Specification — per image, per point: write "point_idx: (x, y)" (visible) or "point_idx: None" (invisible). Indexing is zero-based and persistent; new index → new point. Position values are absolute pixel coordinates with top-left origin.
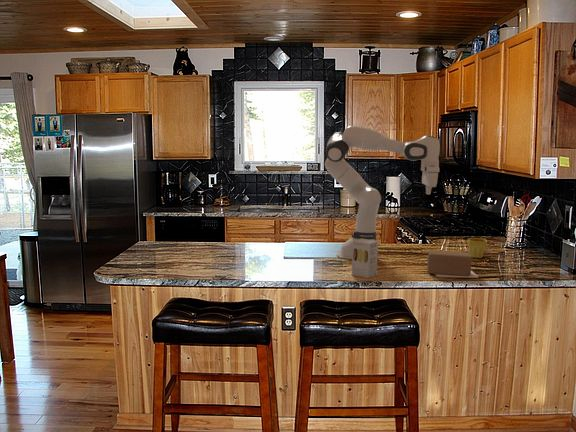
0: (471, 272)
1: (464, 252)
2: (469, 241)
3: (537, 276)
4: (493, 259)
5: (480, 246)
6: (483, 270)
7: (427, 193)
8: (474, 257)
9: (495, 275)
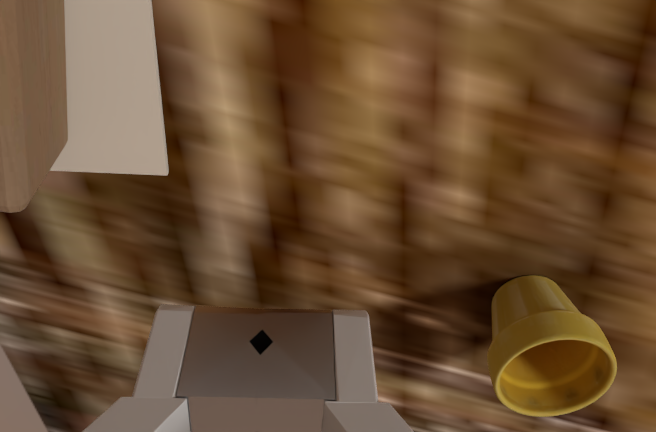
0: (65, 159)
1: (2, 185)
2: (550, 331)
3: (108, 404)
4: (448, 351)
5: (488, 355)
6: (174, 239)
7: (157, 329)
8: (502, 285)
9: (67, 260)
